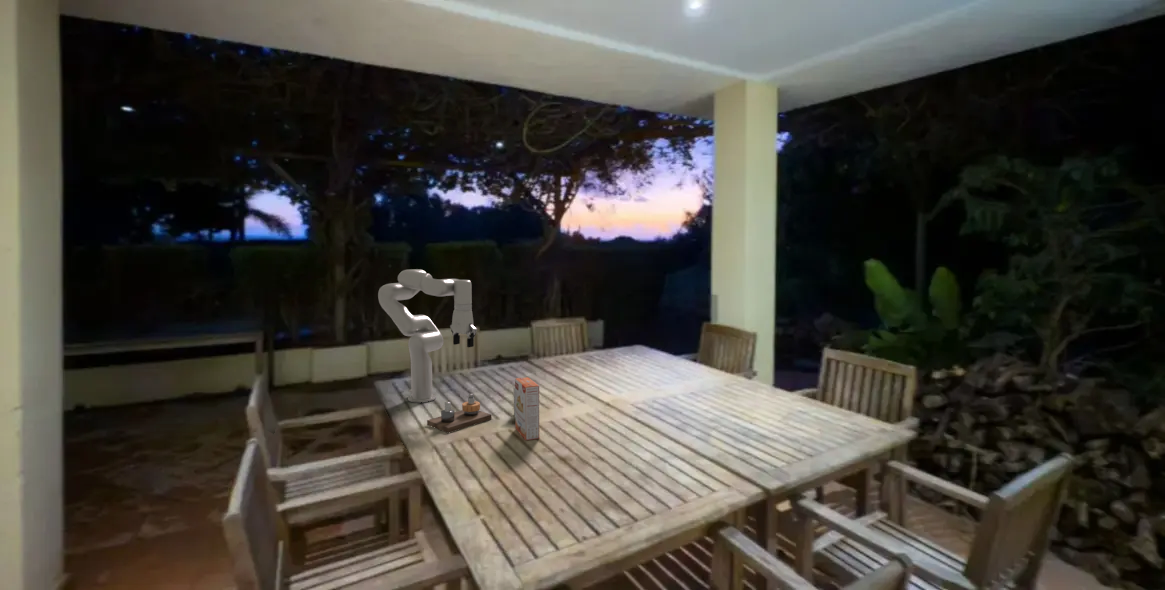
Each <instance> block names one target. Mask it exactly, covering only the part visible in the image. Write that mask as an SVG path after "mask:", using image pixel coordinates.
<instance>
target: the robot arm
mask: <svg viewBox="0 0 1165 590" xmlns="http://www.w3.org/2000/svg"><path fill="white" fill-rule="evenodd" d="M397 281H398V282H393V283H386V284H384V285H382V286H380V287H379V290H378V293H377V297H378V303H379V305H380V307H381V309H382V310H383V311H384V312H385V313H386V314H387V315H388V316H389V317H390V318H391V320H392V321H393V323H394V324H395V325H396V327H397V328H398V330H399V331H400V333H401V334H402V335H404V336H406V337H409V339H408V344H407V346H408V352H409V356H410V378H411V379H410V387H411V388H410V389H408V392H409V393H410V395H409V396H408V398H407V401H409V402H411V403H419V404H421V402H422V403H428V401H429V402H432V401H435V400H436V398H437V396H436V394H433V364H432V363H433V362H432V361H433V360H432V358H431V356H430V354H429V353H431V352H433V351H438V350H440V349H441V348H442V347H443V346H444V337H443V335H442V333H441V331H440V330H439V329H438V327H437V326H436V324H434V322H433V321H432V320H431V318H430V317H429V316H427V315H425V314H412V313H411V312H410V311H409V309H408V308H407V307H406V306H405V305H404V304H403V303H401V302H399V301H404V300H405V301H406V300H410V299H412V298H413V297H414V296H415V295H417V294H418V293H419V292H420V291H422V292H423V293H424V294H426V295H429V296H435V297H446V296H447V297H448V296H453V299H454V304H453V305H454V307H453V308H454V310H453V313H452V319H451V321H452V322H451V324H450V325H449V327H450V332H451V333H452V337H453V340H452V341H453V345H454V346H456V345H460V343H461V339H460V336H461V335H460V334H462V335H466V337H467V339H466V347H467V348H473V347H474V345H475V343H474V341H475V340H474V339H475V337H476V334H477V332H478V329H477V327H476V326H474V317H473V316H474V315H473V311H472V310H473V309H472V308H473V305H472V303H473V302H472V298H473V297H472V293H473V292H472V286H473V285H472V282H471V281H472V280H470V279H459V278H442V279H437V278H433V276H432V275H431V274H430V273H427V272H426V271H425V270H423V269H421V268H420V269H418V268H416V269H412V268H411V269H403V270H402V271H401V272H400V273H399V274H398V275H397Z"/></svg>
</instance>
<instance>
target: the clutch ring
mask: <svg viewBox="0 0 1165 590" xmlns="http://www.w3.org/2000/svg"><path fill="white" fill-rule="evenodd" d="M461 410H463V411H466V412H474V411H478V410H479V411H480V410H481V403H480V402H479V401H475V400H474V405H468V401H465V402H462V403H461Z"/></svg>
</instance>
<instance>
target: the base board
mask: <svg viewBox="0 0 1165 590" xmlns="http://www.w3.org/2000/svg"><path fill="white" fill-rule="evenodd" d="M454 420H455V421H454V422H451V423H443V422H441V415H440V416H437V417H434V418H430V419H427V420H426V425H427V426H428V425H429V427H431V426H432V427H431V428H434V427H435V428H434V429H437V430H439V429H440V431H442V430H443V431H442V432H445V433H447V432H448V434H449V432H450V433H452V431H453V432H455V430H456V431H459V430H462V429H465V428H467V427H471V426H474V424H475V425H477V424H480V423H481V424H482V423H484V422H486V421H490V420H492V413H488V412H485V411H480V410H479V414H478V415H475V416H465V415H464V411H463V410H462V409H461V410H458V411H454ZM458 429H459V430H458Z"/></svg>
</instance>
